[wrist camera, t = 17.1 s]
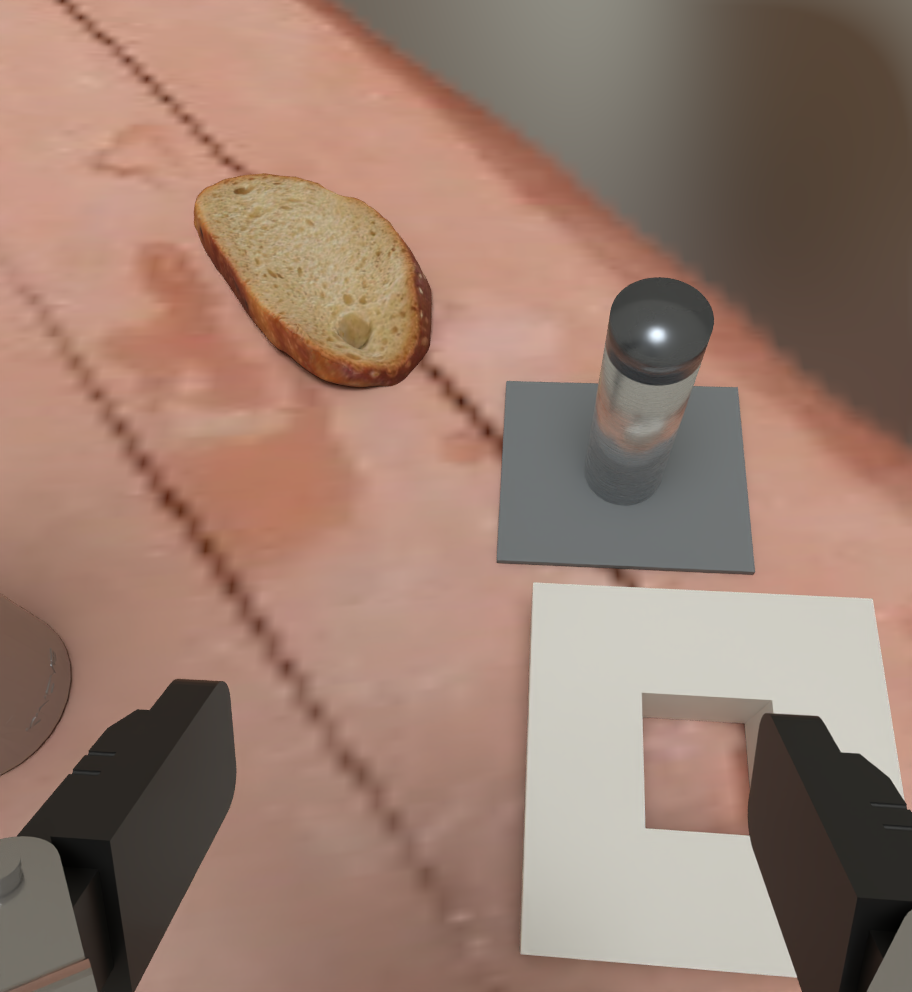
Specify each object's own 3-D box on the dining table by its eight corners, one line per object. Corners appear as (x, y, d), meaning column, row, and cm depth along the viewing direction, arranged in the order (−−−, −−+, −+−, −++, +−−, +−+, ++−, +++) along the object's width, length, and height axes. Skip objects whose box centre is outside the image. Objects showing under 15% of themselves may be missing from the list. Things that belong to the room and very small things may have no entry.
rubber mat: (496, 562, 47) (496, 560, 47) (506, 384, 52) (506, 381, 52) (753, 574, 46) (754, 571, 45) (736, 391, 51) (737, 387, 51)
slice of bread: (205, 189, 62) (187, 147, 59) (445, 190, 61) (442, 147, 58) (149, 390, 54) (125, 355, 51) (425, 397, 53) (420, 361, 49)
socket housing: (519, 950, 38) (520, 954, 34) (530, 615, 45) (533, 582, 41) (883, 981, 37) (934, 989, 32) (835, 631, 44) (872, 598, 40)
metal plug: (584, 504, 48) (610, 357, 35) (584, 437, 50) (609, 276, 37) (662, 507, 47) (717, 360, 35) (659, 440, 49) (710, 278, 37)
